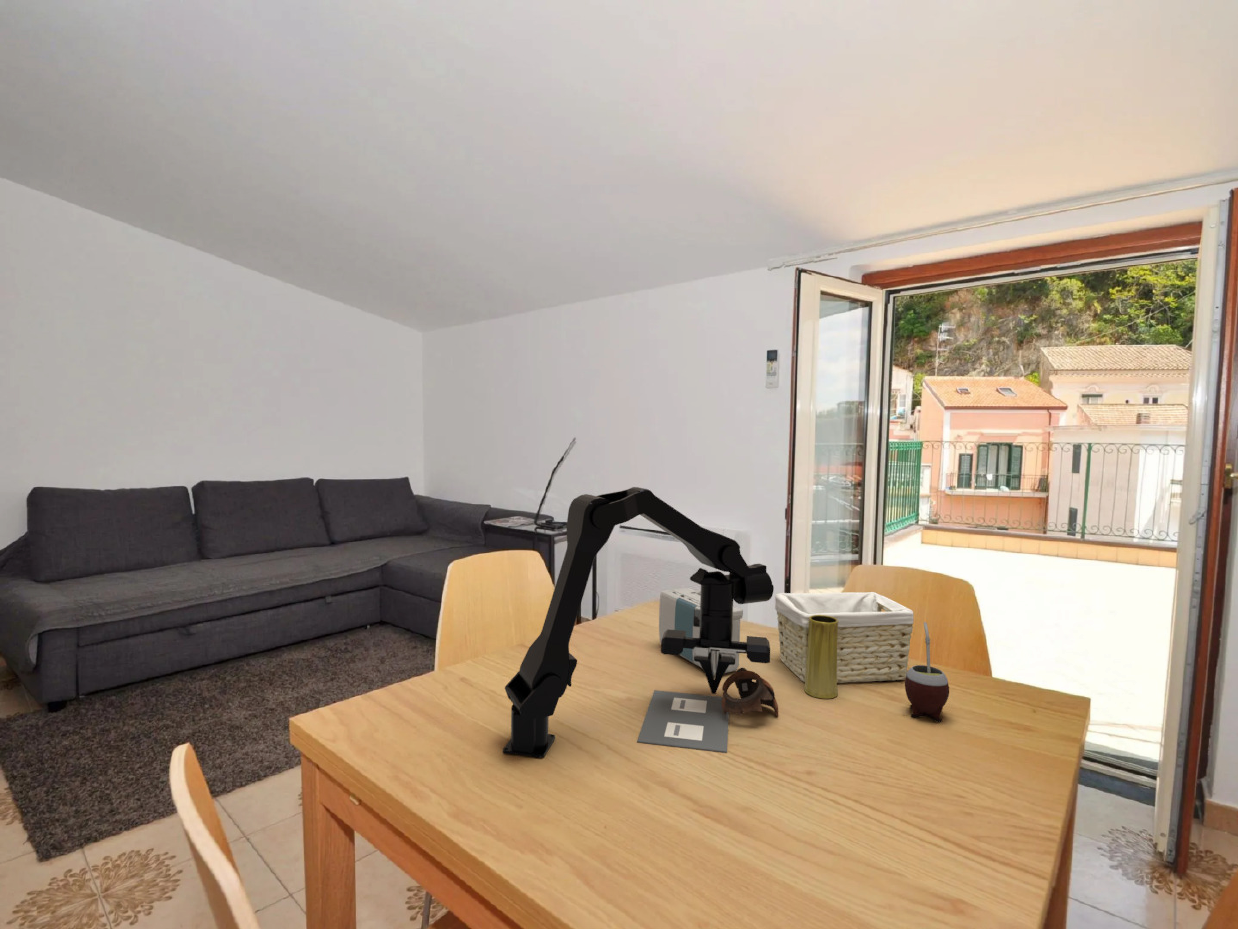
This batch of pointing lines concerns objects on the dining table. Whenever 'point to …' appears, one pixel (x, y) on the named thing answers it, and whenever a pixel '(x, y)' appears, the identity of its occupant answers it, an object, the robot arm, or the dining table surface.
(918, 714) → the mate gourd
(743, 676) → the brown curved piece
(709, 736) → the label mat
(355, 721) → the dining table surface
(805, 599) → the storage basket
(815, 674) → the vase
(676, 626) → the stereo radio cassette player
